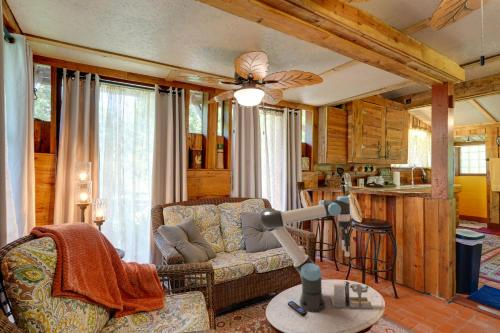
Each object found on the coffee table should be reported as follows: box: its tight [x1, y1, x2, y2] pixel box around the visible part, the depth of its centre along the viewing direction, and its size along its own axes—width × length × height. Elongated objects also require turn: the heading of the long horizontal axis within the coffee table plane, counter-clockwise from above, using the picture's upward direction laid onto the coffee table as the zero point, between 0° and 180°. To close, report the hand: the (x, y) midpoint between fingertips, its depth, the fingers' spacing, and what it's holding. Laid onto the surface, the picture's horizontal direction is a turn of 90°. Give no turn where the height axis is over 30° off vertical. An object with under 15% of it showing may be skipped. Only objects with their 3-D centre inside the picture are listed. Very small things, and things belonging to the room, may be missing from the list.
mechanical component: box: [349, 283, 369, 302], centre depth 163 cm, size 3×10×10 cm, turn 81°
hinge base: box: [329, 280, 373, 310], centre depth 164 cm, size 22×12×13 cm, turn 82°
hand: (345, 253), depth 176 cm, fingers open, 13 cm apart
